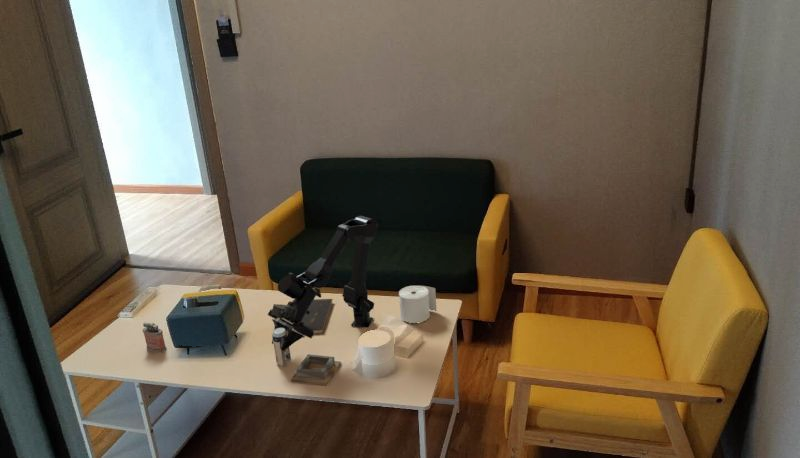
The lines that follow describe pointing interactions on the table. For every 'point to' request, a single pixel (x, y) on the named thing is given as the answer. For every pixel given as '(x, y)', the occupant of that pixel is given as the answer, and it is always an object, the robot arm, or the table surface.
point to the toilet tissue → (416, 303)
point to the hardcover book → (316, 315)
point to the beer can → (278, 340)
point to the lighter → (154, 338)
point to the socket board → (316, 370)
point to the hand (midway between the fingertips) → (277, 347)
